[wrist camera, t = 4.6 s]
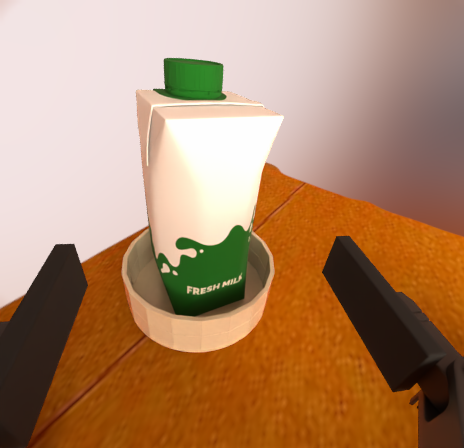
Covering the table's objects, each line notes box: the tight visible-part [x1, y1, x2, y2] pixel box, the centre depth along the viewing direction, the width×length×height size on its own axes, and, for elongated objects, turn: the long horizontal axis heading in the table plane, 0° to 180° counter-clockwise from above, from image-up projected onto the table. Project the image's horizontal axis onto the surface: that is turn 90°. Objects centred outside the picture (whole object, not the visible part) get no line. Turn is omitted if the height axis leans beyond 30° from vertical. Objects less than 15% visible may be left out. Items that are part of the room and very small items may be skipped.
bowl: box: [122, 228, 274, 352], centre depth 27 cm, size 14×14×4 cm
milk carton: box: [136, 58, 284, 317], centre depth 22 cm, size 9×9×20 cm
